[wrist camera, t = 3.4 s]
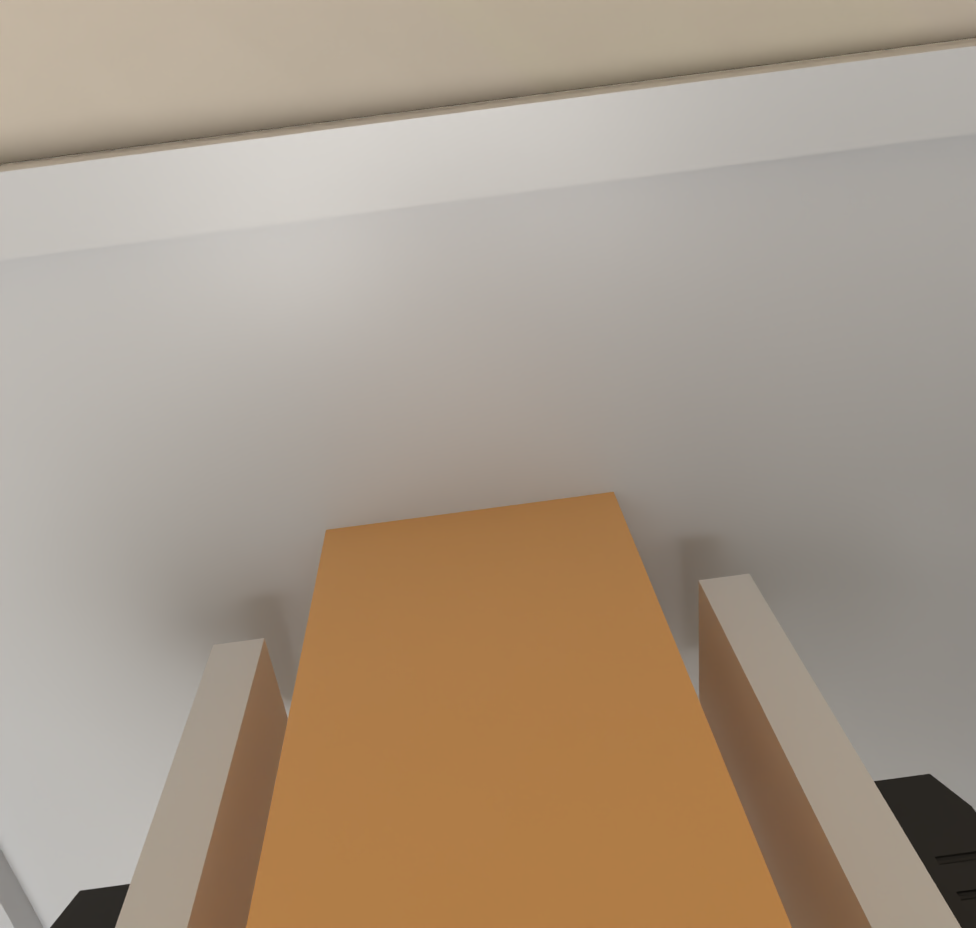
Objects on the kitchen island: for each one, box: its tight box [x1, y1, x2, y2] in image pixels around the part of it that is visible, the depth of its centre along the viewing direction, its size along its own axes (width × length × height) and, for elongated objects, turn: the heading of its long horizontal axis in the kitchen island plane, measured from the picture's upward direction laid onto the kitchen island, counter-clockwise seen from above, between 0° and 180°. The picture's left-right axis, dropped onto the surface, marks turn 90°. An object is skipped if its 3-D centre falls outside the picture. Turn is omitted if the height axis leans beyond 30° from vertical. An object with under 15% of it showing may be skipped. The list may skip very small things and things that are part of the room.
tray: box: [0, 38, 976, 928], centre depth 14 cm, size 21×16×1 cm
